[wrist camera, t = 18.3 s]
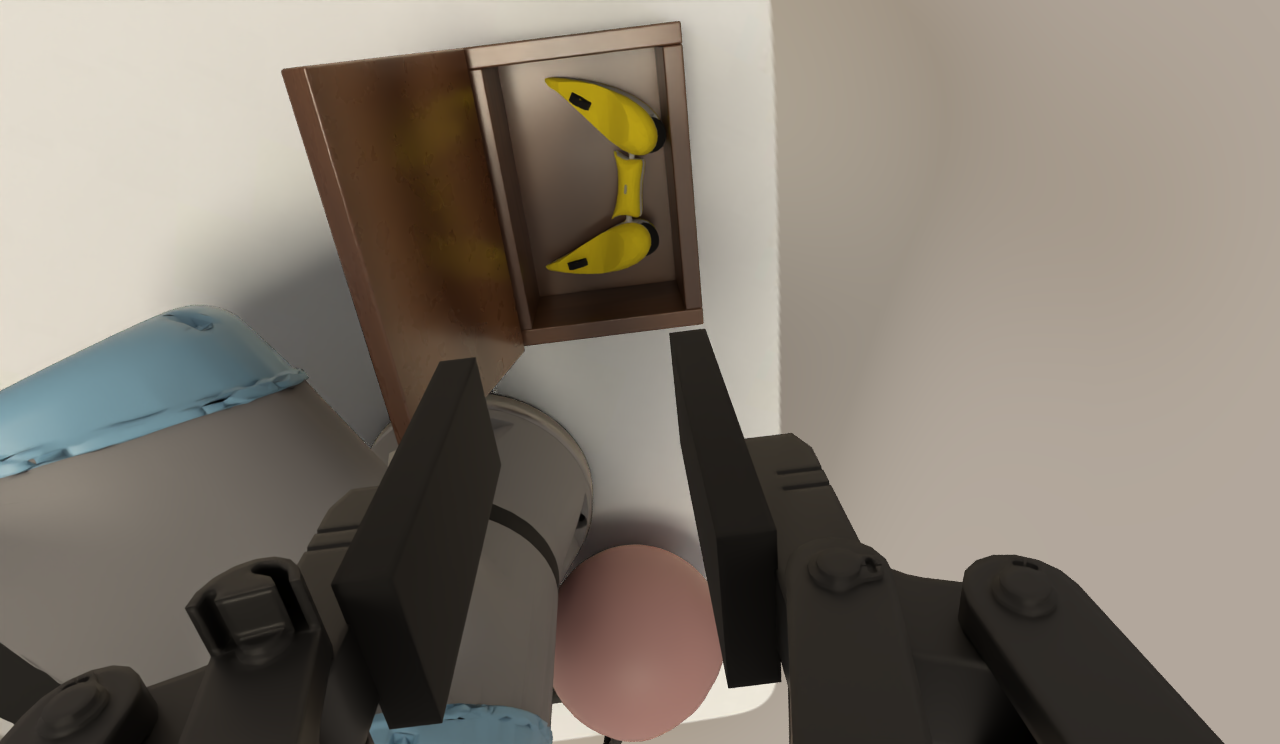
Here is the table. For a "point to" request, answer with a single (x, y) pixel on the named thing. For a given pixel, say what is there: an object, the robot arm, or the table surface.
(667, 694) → the mortar and pestle
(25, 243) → the table surface
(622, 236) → the yellow curved piece
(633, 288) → the chest
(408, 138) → the lid
